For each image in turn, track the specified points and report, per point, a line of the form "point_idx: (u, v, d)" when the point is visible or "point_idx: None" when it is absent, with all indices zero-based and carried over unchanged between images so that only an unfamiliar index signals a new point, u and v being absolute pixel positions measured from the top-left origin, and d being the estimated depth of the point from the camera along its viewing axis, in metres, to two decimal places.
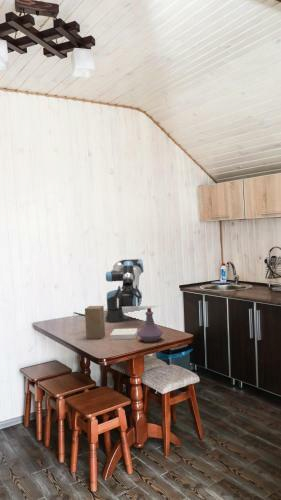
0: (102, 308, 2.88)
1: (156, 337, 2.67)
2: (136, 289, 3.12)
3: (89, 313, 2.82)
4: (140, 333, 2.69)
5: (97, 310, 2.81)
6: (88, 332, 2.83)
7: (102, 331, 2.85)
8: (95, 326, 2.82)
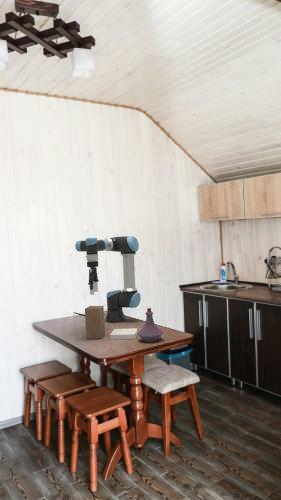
0: (102, 308, 2.88)
1: (156, 337, 2.67)
2: (89, 274, 2.80)
3: (89, 313, 2.82)
4: (140, 333, 2.69)
5: (97, 310, 2.81)
6: (88, 332, 2.83)
7: (102, 331, 2.85)
8: (95, 326, 2.82)
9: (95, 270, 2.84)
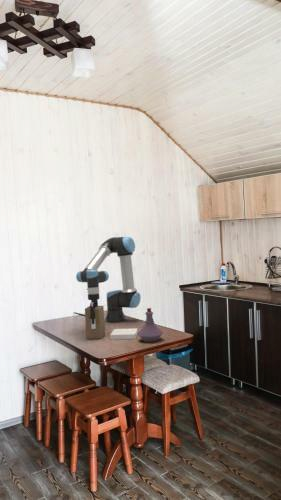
0: (102, 308, 2.88)
1: (156, 337, 2.67)
2: None
3: (89, 313, 2.82)
4: (140, 333, 2.69)
5: (97, 310, 2.81)
6: (88, 332, 2.83)
7: (102, 331, 2.85)
8: None
9: (96, 303, 2.85)
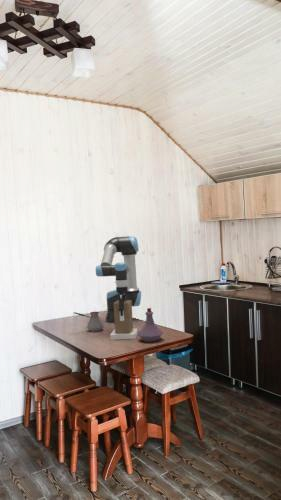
0: (130, 302, 2.86)
1: (156, 337, 2.67)
2: (119, 300, 2.79)
3: (118, 308, 2.80)
4: (140, 333, 2.69)
5: (126, 304, 2.79)
6: (117, 326, 2.81)
7: (130, 325, 2.83)
8: (124, 320, 2.80)
9: (125, 295, 2.83)
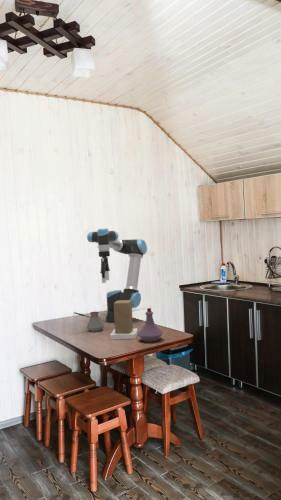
0: (130, 302, 2.86)
1: (156, 337, 2.67)
2: (101, 263, 2.93)
3: (118, 308, 2.81)
4: (140, 333, 2.69)
5: (126, 304, 2.79)
6: (117, 326, 2.81)
7: (130, 325, 2.83)
8: (124, 320, 2.80)
9: (107, 259, 2.98)
